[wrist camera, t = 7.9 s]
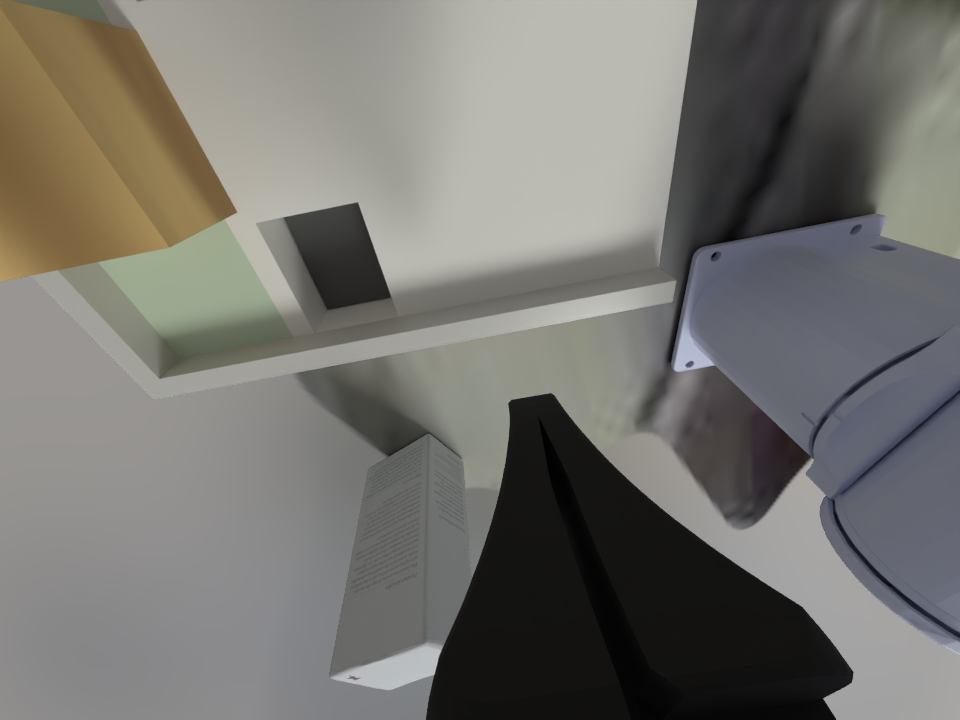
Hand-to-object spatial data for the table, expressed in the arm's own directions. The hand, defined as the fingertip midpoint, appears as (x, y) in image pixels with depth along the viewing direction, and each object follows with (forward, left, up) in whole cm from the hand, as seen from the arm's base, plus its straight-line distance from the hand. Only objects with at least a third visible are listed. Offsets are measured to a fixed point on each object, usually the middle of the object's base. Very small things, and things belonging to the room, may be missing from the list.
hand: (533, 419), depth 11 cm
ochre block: (+12, -9, -7) cm, 16 cm away
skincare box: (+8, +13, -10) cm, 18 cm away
